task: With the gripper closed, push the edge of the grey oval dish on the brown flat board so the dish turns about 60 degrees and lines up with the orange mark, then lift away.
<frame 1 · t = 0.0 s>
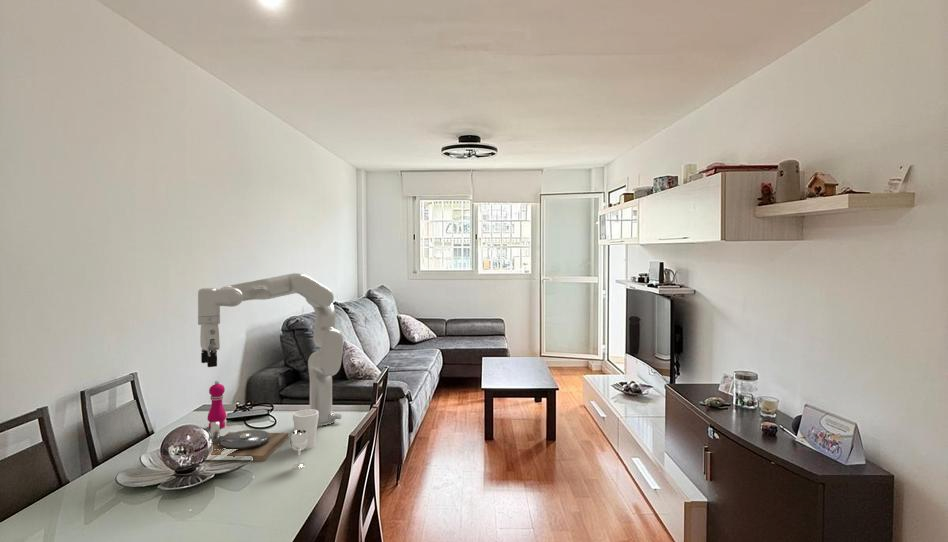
hand: (209, 364, 197), 31 cm above the table, tool pointing down, fingers open, 9 cm apart
pepper mill: (216, 427, 219), on the table
brown flat board: (245, 448, 194), on the table
foam cup: (305, 446, 197), on the table
wineglass: (299, 466, 178), on the table
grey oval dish: (239, 432, 194), point 6 cm above the table, hinge at 0.0°
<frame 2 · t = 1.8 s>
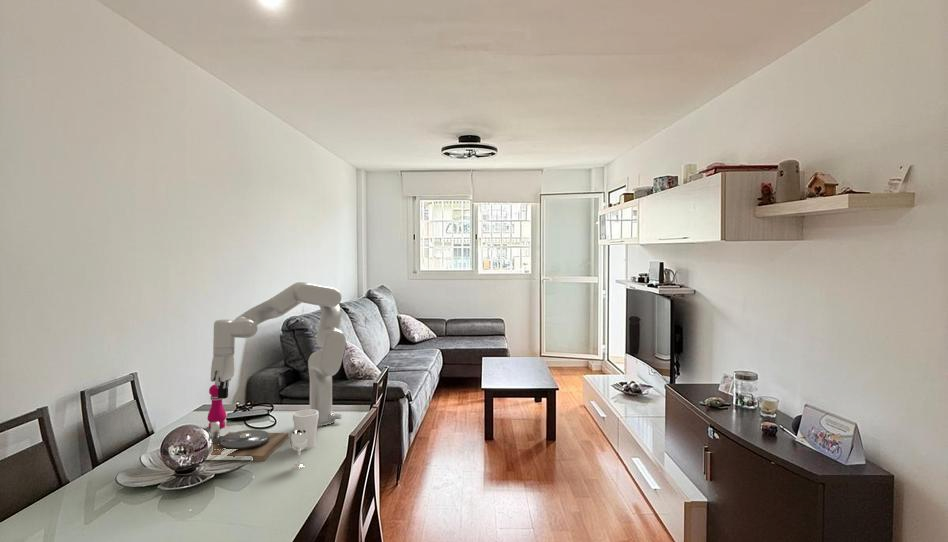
hand: (222, 397, 201), 17 cm above the table, tool pointing down, fingers closed
nothing on the table moved.
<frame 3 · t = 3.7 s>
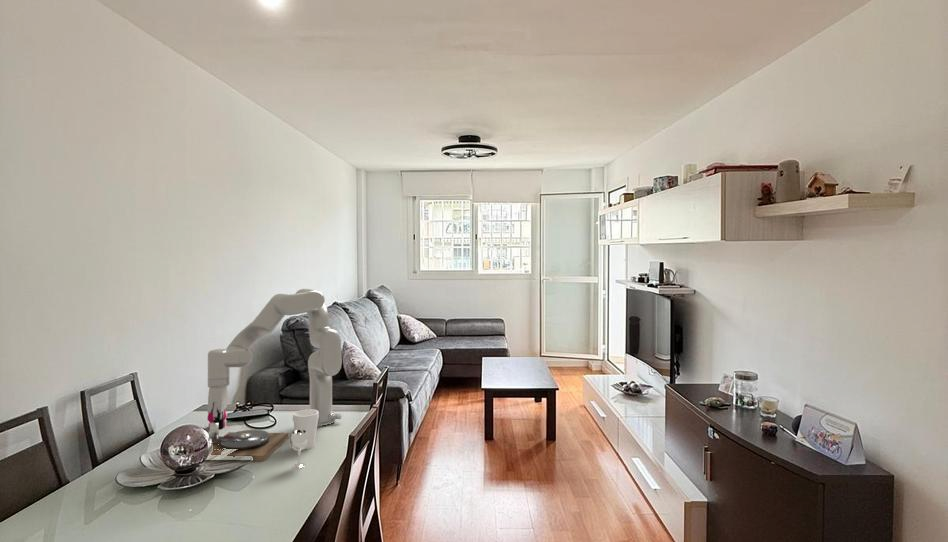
hand: (218, 428, 197), 6 cm above the table, tool pointing down, fingers closed
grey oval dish: (239, 432, 194), point 6 cm above the table, hinge at 4.1°, touching gripper
everything else where it was.
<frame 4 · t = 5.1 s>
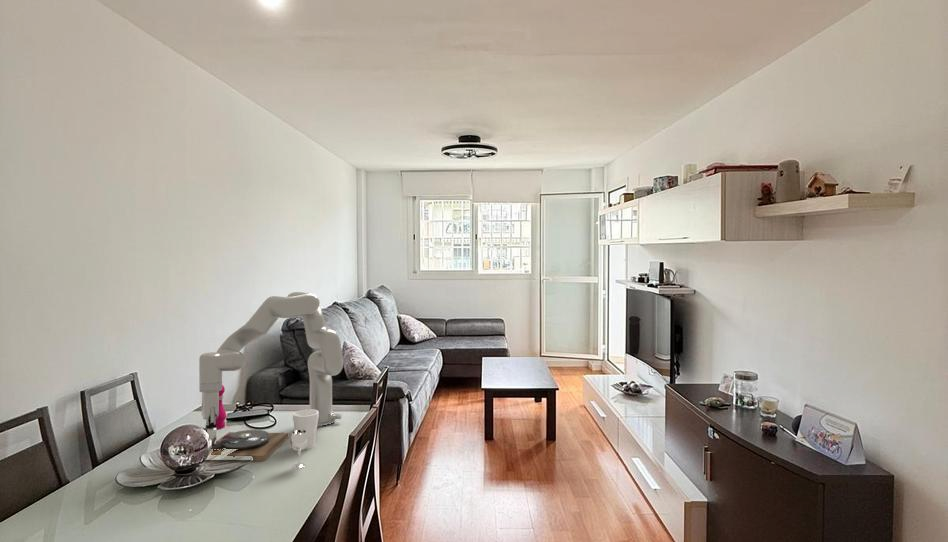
hand: (210, 435, 191), 6 cm above the table, tool pointing down, fingers closed
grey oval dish: (238, 433, 193), point 6 cm above the table, hinge at 37.1°, touching gripper
everything else where it was.
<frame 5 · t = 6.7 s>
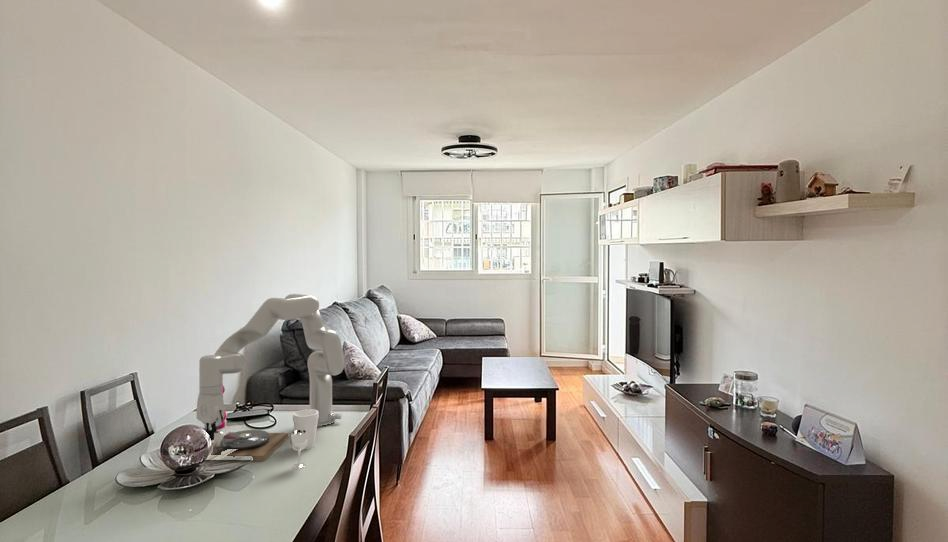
hand: (211, 439, 186), 6 cm above the table, tool pointing down, fingers closed
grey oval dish: (240, 433, 192), point 6 cm above the table, hinge at 64.8°
everything else where it was.
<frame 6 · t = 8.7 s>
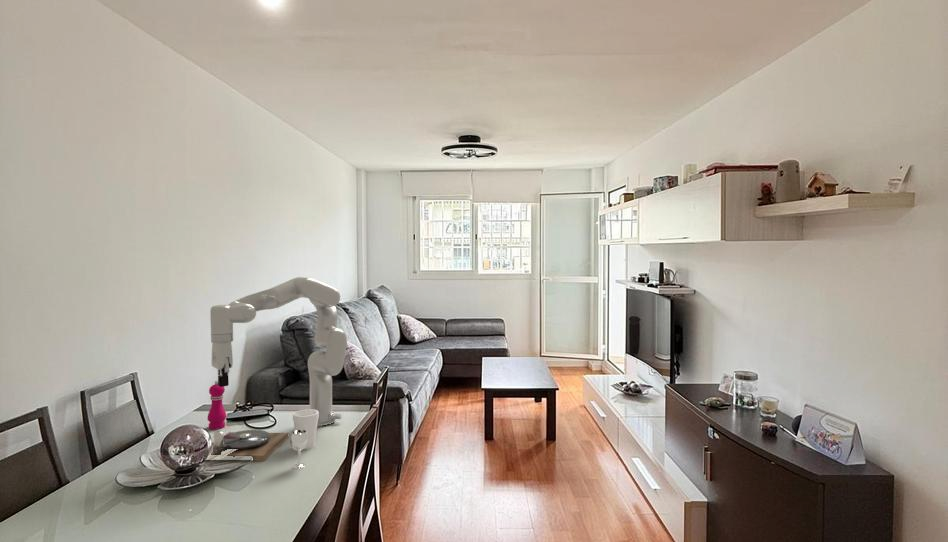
hand: (223, 385, 194), 24 cm above the table, tool pointing down, fingers closed
nothing on the table moved.
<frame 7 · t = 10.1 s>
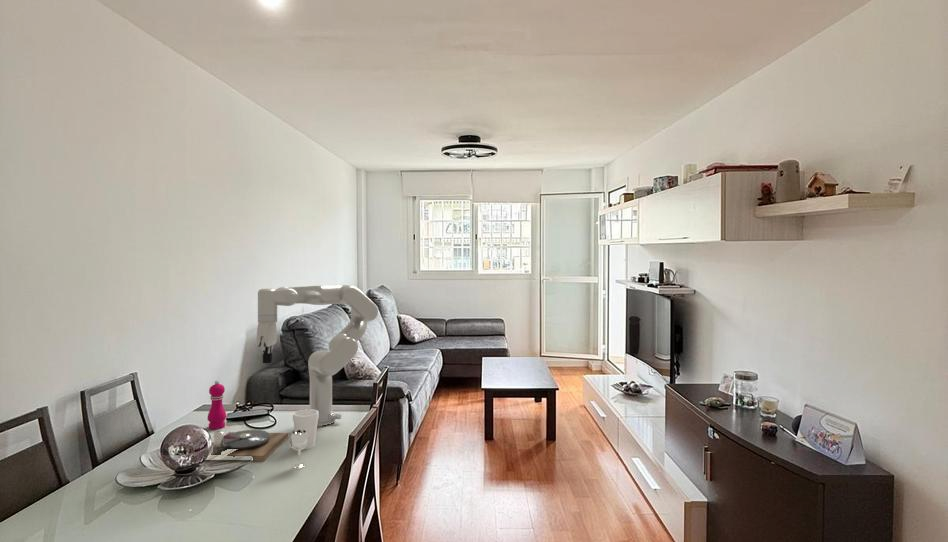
hand: (267, 362, 212), 29 cm above the table, tool pointing down, fingers closed
nothing on the table moved.
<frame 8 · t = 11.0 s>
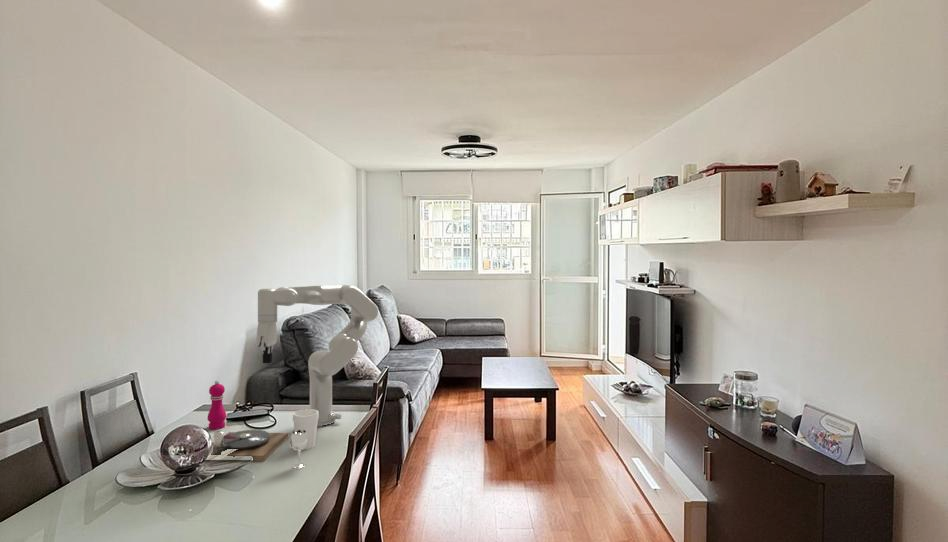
hand: (267, 362, 212), 29 cm above the table, tool pointing down, fingers closed
nothing on the table moved.
at the end: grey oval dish at +65° (first picture: +0°); pepper mill moved 0.2 cm from its start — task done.
